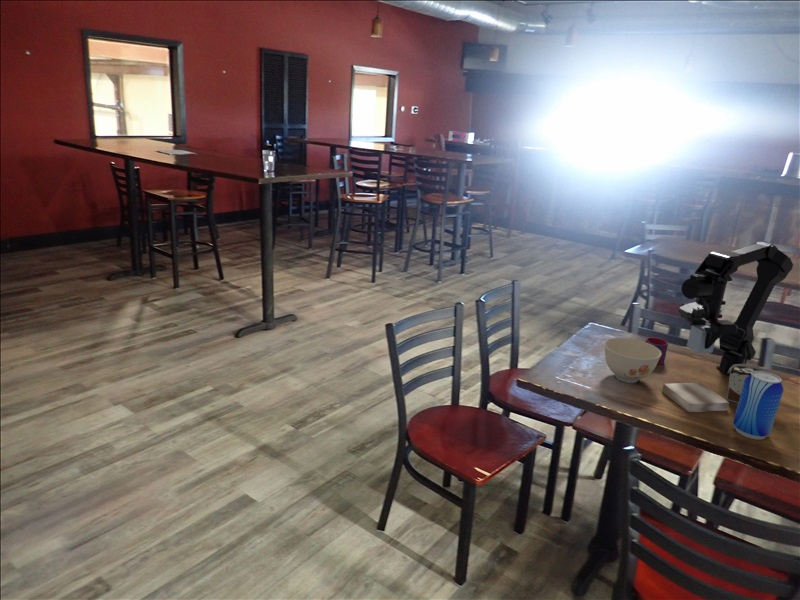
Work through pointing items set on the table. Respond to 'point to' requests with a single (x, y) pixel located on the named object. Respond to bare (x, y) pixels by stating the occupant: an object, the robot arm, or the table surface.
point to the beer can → (758, 405)
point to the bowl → (630, 358)
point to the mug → (659, 347)
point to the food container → (739, 379)
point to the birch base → (695, 397)
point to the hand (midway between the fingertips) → (700, 344)
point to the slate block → (698, 339)
